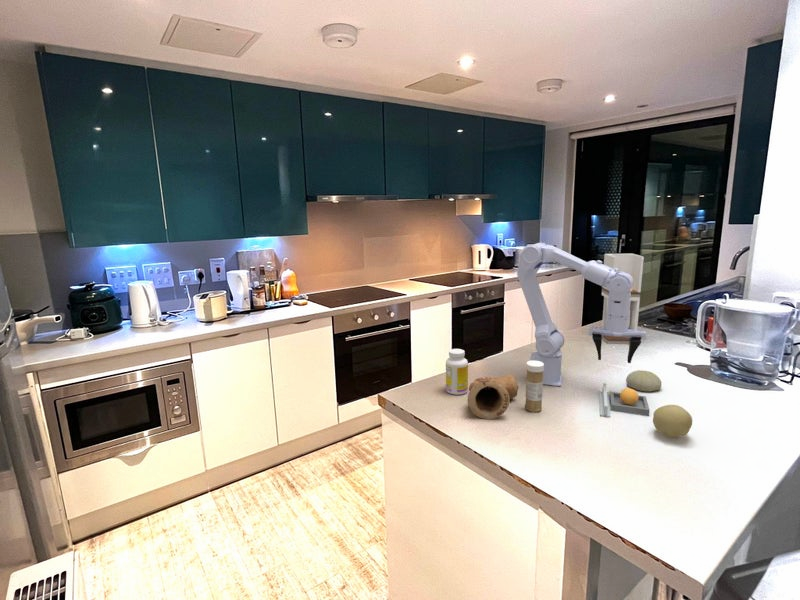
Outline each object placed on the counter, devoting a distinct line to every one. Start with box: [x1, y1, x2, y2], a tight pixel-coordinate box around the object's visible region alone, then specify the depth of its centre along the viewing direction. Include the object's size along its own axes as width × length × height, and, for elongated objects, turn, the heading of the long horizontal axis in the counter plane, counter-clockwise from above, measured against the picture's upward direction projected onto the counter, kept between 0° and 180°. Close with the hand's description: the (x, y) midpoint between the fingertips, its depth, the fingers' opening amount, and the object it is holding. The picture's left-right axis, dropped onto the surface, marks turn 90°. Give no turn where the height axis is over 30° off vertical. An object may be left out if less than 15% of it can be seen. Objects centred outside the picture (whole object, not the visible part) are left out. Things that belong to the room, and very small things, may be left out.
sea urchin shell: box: [625, 369, 663, 392], centre depth 129 cm, size 9×8×8 cm
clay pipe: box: [467, 374, 519, 420], centre depth 118 cm, size 19×11×15 cm
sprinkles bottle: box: [524, 360, 544, 413], centre depth 116 cm, size 5×5×13 cm
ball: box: [619, 387, 639, 405], centre depth 117 cm, size 4×4×4 cm
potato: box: [652, 404, 693, 439], centre depth 101 cm, size 8×8×8 cm
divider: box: [598, 382, 611, 418], centre depth 119 cm, size 2×16×3 cm, turn 156°
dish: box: [609, 391, 651, 417], centre depth 117 cm, size 9×9×2 cm
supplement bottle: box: [445, 348, 469, 396], centre depth 129 cm, size 7×7×13 cm
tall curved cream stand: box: [601, 253, 645, 345], centre depth 172 cm, size 11×11×35 cm
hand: (614, 360), depth 123 cm, fingers open, 7 cm apart
